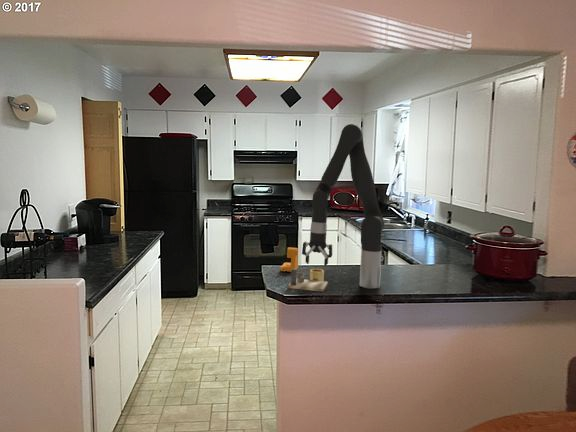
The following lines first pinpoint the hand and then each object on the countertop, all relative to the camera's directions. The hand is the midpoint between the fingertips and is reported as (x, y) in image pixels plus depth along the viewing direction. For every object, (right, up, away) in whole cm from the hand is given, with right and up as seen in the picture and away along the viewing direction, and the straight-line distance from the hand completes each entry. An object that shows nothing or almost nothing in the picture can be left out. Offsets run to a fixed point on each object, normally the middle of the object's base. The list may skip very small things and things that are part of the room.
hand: (316, 264), depth 218 cm
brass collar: (0, -8, +1) cm, 8 cm away
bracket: (-13, -5, +18) cm, 23 cm away
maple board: (-4, -9, -8) cm, 13 cm away
